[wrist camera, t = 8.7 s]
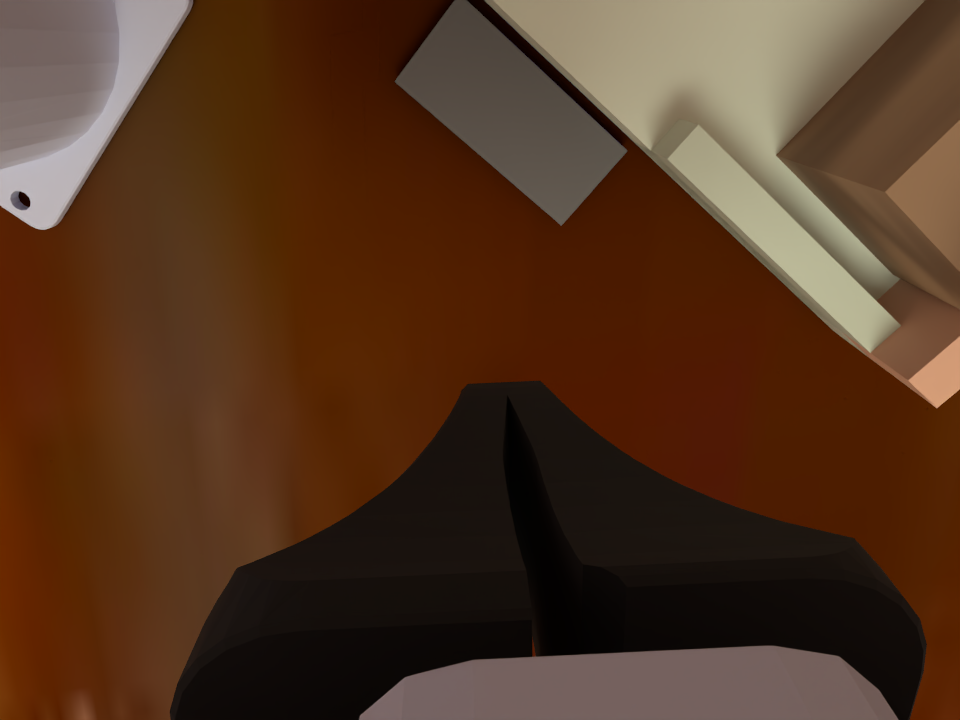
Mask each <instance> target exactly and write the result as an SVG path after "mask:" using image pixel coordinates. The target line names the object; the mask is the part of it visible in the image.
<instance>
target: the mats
mask: <svg viewBox="0 0 960 720" xmlns="http://www.w3.org/2000/svg"><path fill="white" fill-rule="evenodd" d="M395 83H397V84H398V85H399V86H400V87H401V88H402V89H404V90H405V91H406V92H407V93H408V94H409V95H411V96H412V97H413V98H414V99H415V100H416V101H418V102H419V103H420V104H421V105H422V106H423V107H424V108H426V109H427V110H428V111H429V112H430V113H431V114H433V115H434V116H435V117H436V118H437V119H438V120H440V121H441V122H442V123H443V124H444V125H445V126H446V127H448V128H449V129H450V130H451V131H452V132H453V133H455V134H456V135H457V136H458V137H459V138H460V139H462V140H463V141H464V142H465V143H466V144H467V145H469V146H470V147H471V148H472V149H473V150H474V151H475V152H477V153H478V154H479V155H480V156H481V157H482V158H484V159H485V160H486V161H487V162H488V163H489V164H491V165H492V166H493V167H494V168H495V169H496V170H498V171H499V172H500V173H501V174H502V175H503V176H504V177H506V178H507V179H508V180H509V181H510V182H511V183H513V184H514V185H515V186H516V187H517V188H518V189H520V190H521V191H522V192H523V193H524V194H525V195H526V196H528V197H529V198H530V199H531V200H532V201H533V202H535V203H536V204H537V205H538V206H539V207H540V208H542V209H543V210H544V211H545V212H546V213H547V214H549V215H550V216H551V217H552V218H553V219H554V220H555V221H557V222H558V223H559V224H560V225H561V226H562V224H563V223H564V222H565V221H566V220H567V219H568V218H569V216H570V215H571V214H572V213H573V212H574V211H575V210H576V209H577V207H578V206H579V205H580V204H581V203H582V202H583V201H584V200H585V198H586V197H587V196H588V195H589V194H590V193H591V192H592V190H593V189H594V188H595V187H596V186H597V185H598V184H599V183H600V181H601V180H602V179H603V178H604V177H605V176H606V175H607V174H608V172H609V171H610V170H611V169H612V168H613V167H614V166H615V165H616V163H617V162H618V161H619V160H620V159H621V158H622V157H623V155H624V154H625V153H626V152H627V150H626V149H625V148H624V147H623V146H622V145H621V144H620V143H618V142H617V141H616V140H615V139H614V138H613V137H612V136H611V135H610V134H609V133H608V132H607V131H606V130H605V129H604V128H602V127H601V126H600V125H599V124H598V123H597V122H596V121H595V120H594V119H593V118H592V117H591V116H590V115H589V114H588V113H586V112H585V111H584V110H583V109H582V108H581V107H580V106H579V105H578V104H577V103H576V102H575V101H574V100H573V99H572V98H570V97H569V96H568V95H567V94H566V93H565V92H564V91H563V90H562V89H561V88H560V87H559V86H558V85H557V84H556V83H554V82H553V81H552V80H551V79H550V78H549V77H548V76H547V75H546V74H545V73H544V72H543V71H542V70H541V69H540V68H538V67H537V66H536V65H535V64H534V63H533V62H532V61H531V60H530V59H529V58H528V57H527V56H526V55H525V54H524V53H522V52H521V51H520V50H519V49H518V48H517V47H516V46H515V45H514V44H513V43H512V42H511V41H510V40H509V39H508V38H506V37H505V36H504V35H503V34H502V33H501V32H500V31H499V30H498V29H497V28H496V27H495V26H494V25H493V24H492V23H490V22H489V21H488V20H487V19H486V18H485V17H484V16H483V15H482V14H481V13H480V12H479V11H478V10H477V9H475V8H474V7H473V6H472V5H471V4H470V3H469V2H468V1H467V0H454V2H453V3H452V4H451V6H450V7H449V8H448V10H447V11H446V13H445V14H444V15H443V17H442V18H441V19H440V21H439V22H438V23H437V25H436V26H435V27H434V29H433V30H432V31H431V33H430V34H429V36H428V37H427V38H426V40H425V41H424V42H423V44H422V45H421V46H420V48H419V49H418V50H417V52H416V53H415V54H414V56H413V57H412V59H411V60H410V61H409V63H408V64H407V65H406V67H405V68H404V69H403V71H402V72H401V73H400V75H399V76H398V77H397V79H396V80H395Z"/></svg>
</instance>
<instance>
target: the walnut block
mask: <svg viewBox="0 0 960 720" xmlns="http://www.w3.org/2000/svg"><path fill="white" fill-rule="evenodd" d="M776 156H777V157H778V158H779V159H780V160H781V161H782V162H783V163H784V164H785V165H786V166H787V167H788V168H789V169H790V170H791V171H792V172H793V173H794V174H795V175H796V176H797V177H798V178H799V179H800V180H801V181H802V183H803V184H804V185H805V186H806V187H807V188H808V189H809V190H810V191H811V192H812V193H813V194H814V195H815V196H816V197H817V198H818V199H819V200H820V201H821V202H822V203H823V204H824V205H825V206H826V207H827V208H828V209H829V210H830V211H831V212H832V213H833V214H834V215H835V216H836V217H837V218H838V219H839V220H840V221H841V222H842V223H843V224H844V225H845V226H846V227H847V228H848V229H849V230H850V231H851V232H852V233H853V234H854V235H855V236H856V237H857V238H858V240H859V241H860V242H861V243H862V244H863V245H864V246H865V247H866V248H867V249H868V250H869V251H870V252H871V253H872V254H873V255H874V256H875V257H876V258H877V259H878V260H879V261H880V262H881V263H882V264H883V265H884V266H885V267H886V268H887V269H888V270H889V271H890V272H891V273H892V274H893V275H894V276H896V277H898V278H900V279H902V280H904V281H906V282H908V283H910V284H911V285H913V286H915V287H917V288H919V289H921V290H923V291H925V292H927V293H929V294H931V295H933V296H935V297H937V298H938V299H940V300H942V301H944V302H946V303H948V304H950V305H952V306H954V307H956V308H958V309H960V0H925V1H924V2H923V3H922V4H921V5H920V6H919V7H918V8H917V9H916V10H915V11H914V12H913V13H912V15H911V16H910V17H909V18H908V19H907V20H906V21H905V22H904V23H903V24H902V25H901V26H900V27H899V28H898V29H897V30H896V31H895V32H894V33H893V34H892V35H891V36H890V37H889V38H888V39H887V41H886V42H885V43H884V44H883V45H882V46H881V47H880V48H879V49H878V50H877V51H876V52H875V53H874V54H873V55H872V56H871V57H870V58H869V59H868V60H867V61H866V62H865V63H864V64H863V65H862V67H861V68H860V69H859V70H858V71H857V72H856V73H855V74H854V75H853V76H852V77H851V78H850V79H849V80H848V81H847V82H846V83H845V84H844V85H843V86H842V87H841V88H840V89H839V90H838V91H837V92H836V94H835V95H834V96H833V97H832V98H831V99H830V100H829V101H828V102H827V103H826V104H825V105H824V106H823V107H822V108H821V109H820V110H819V111H818V112H817V113H816V114H815V115H814V116H813V117H812V118H811V120H810V121H809V122H808V123H807V124H806V125H805V126H804V127H803V128H802V129H801V130H800V131H799V132H798V133H797V134H796V135H795V136H794V137H793V138H792V139H791V140H790V141H789V142H788V143H787V144H786V146H785V147H784V148H783V149H782V150H781V151H780V152H779V153H778V154H777V155H776Z"/></svg>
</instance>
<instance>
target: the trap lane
mask: <svg viewBox="0 0 960 720" xmlns="http://www.w3.org/2000/svg"><path fill="white" fill-rule="evenodd" d="M484 1H485V2H486V3H487V4H488V5H489V6H490V7H492V8H493V9H494V10H495V11H496V12H497V13H498V14H499V15H500V16H501V17H502V18H503V19H504V20H505V21H506V22H507V23H508V24H509V25H511V26H512V27H513V28H514V29H515V30H516V31H517V32H518V33H519V34H520V35H521V36H522V37H523V38H524V39H525V40H526V41H527V42H529V43H530V44H531V45H532V46H533V47H534V48H535V49H536V50H537V51H538V52H539V53H540V54H541V55H542V56H543V57H544V58H545V59H547V60H548V61H549V62H550V63H551V64H552V65H553V66H554V67H555V68H556V69H557V70H558V71H559V72H560V73H561V74H562V75H563V76H564V77H566V78H567V79H568V80H569V81H570V82H571V83H572V84H573V85H574V86H575V87H576V88H577V89H578V90H579V91H580V92H581V93H582V94H584V95H585V96H586V97H587V98H588V99H589V100H590V101H591V102H592V103H593V104H594V105H595V106H596V107H597V108H598V109H599V110H600V111H602V112H603V113H604V114H605V115H606V116H607V117H608V118H609V119H610V120H611V121H612V122H613V123H614V124H615V125H616V126H617V127H618V128H619V129H621V130H622V131H623V132H624V133H625V134H626V135H627V136H628V137H629V138H630V139H631V140H632V141H633V142H634V143H635V144H636V145H637V146H639V147H640V148H641V149H642V150H643V151H644V152H645V153H646V154H647V155H648V156H649V157H650V158H651V159H652V160H653V161H654V162H655V163H657V164H658V165H659V166H660V167H661V168H662V169H663V170H664V171H665V172H666V173H667V174H668V175H669V176H670V177H671V178H672V179H673V180H674V181H676V182H677V183H678V184H679V185H680V186H681V187H682V188H683V189H684V190H685V191H686V192H687V193H688V194H689V195H690V196H691V197H692V198H694V199H695V200H696V201H697V202H698V203H699V204H700V205H701V206H702V207H703V208H704V209H705V210H706V211H707V212H708V213H709V214H710V215H712V216H713V217H714V218H715V219H716V220H717V221H718V222H719V223H720V224H721V225H722V226H723V227H724V228H725V229H726V230H727V231H728V232H729V233H731V234H732V235H733V236H734V237H735V238H736V239H737V240H738V241H739V242H740V243H741V244H742V245H743V246H744V247H745V248H746V249H747V250H749V251H750V252H751V253H752V254H753V255H754V256H755V257H756V258H757V259H758V260H759V261H760V262H761V263H762V264H763V265H764V266H765V267H767V268H768V269H769V270H770V271H771V272H772V273H773V274H774V275H775V276H776V277H777V278H778V279H779V280H780V281H781V282H782V283H783V284H784V285H786V286H787V287H788V288H789V289H790V290H791V291H792V292H793V293H794V294H795V295H796V296H797V297H798V298H799V299H800V300H801V301H802V302H804V303H805V304H806V305H807V306H808V307H809V308H810V309H811V310H812V311H813V312H814V313H815V314H816V315H817V316H818V317H819V318H820V319H822V320H823V321H824V322H825V323H826V324H827V325H828V326H829V327H830V328H831V329H832V330H833V331H834V332H836V333H837V334H838V335H840V336H841V337H842V338H844V339H845V340H846V341H848V342H849V343H850V344H852V345H853V346H854V347H856V348H857V349H858V350H860V351H861V352H862V353H864V354H865V355H866V356H868V357H869V358H870V359H872V360H873V361H874V362H876V363H877V364H878V365H880V366H881V367H882V368H884V369H885V370H886V371H888V372H889V373H890V374H892V375H893V376H894V377H896V378H897V379H898V380H900V381H901V382H902V383H904V384H905V385H907V386H908V387H909V388H911V389H912V390H913V391H915V392H916V393H917V394H919V395H920V396H921V397H923V398H924V399H925V400H927V401H928V402H929V403H931V404H932V405H933V406H935V407H936V408H938V407H939V406H940V405H941V404H942V403H944V402H945V401H946V400H947V399H948V398H950V397H951V396H952V395H953V394H954V393H956V392H957V391H958V390H959V389H960V309H958V308H956V307H954V306H952V305H950V304H948V303H946V302H944V301H942V300H940V299H938V298H937V297H935V296H933V295H931V294H929V293H927V292H925V291H923V290H921V289H919V288H917V287H915V286H913V285H911V284H910V283H908V282H906V281H904V280H902V279H900V278H898V277H896V276H894V275H893V274H892V273H891V272H890V271H889V270H888V269H887V268H886V267H885V266H884V265H883V264H882V263H881V262H880V261H879V260H878V259H877V258H876V257H875V256H874V255H873V254H872V253H871V252H870V251H869V250H868V249H867V248H866V247H865V246H864V245H863V244H862V243H861V242H860V241H859V240H858V238H857V237H856V236H855V235H854V234H853V233H852V232H851V231H850V230H849V229H848V228H847V227H846V226H845V225H844V224H843V223H842V222H841V221H840V220H839V219H838V218H837V217H836V216H835V215H834V214H833V213H832V212H831V211H830V210H829V209H828V208H827V207H826V206H825V205H824V204H823V203H822V202H821V201H820V200H819V199H818V198H817V197H816V196H815V195H814V194H813V193H812V192H811V191H810V190H809V189H808V188H807V187H806V186H805V185H804V184H803V183H802V181H801V180H800V179H799V178H798V177H797V176H796V175H795V174H794V173H793V172H792V171H791V170H790V169H789V168H788V167H787V166H786V165H785V164H784V163H783V162H782V161H781V160H780V159H779V158H778V157H777V156H776V155H777V154H778V153H779V152H780V151H781V150H782V149H783V148H784V147H785V146H786V144H787V143H788V142H789V141H790V140H791V139H792V138H793V137H794V136H795V135H796V134H797V133H798V132H799V131H800V130H801V129H802V128H803V127H804V126H805V125H806V124H807V123H808V122H809V121H810V120H811V118H812V117H813V116H814V115H815V114H816V113H817V112H818V111H819V110H820V109H821V108H822V107H823V106H824V105H825V104H826V103H827V102H828V101H829V100H830V99H831V98H832V97H833V96H834V95H835V94H836V92H837V91H838V90H839V89H840V88H841V87H842V86H843V85H844V84H845V83H846V82H847V81H848V80H849V79H850V78H851V77H852V76H853V75H854V74H855V73H856V72H857V71H858V70H859V69H860V68H861V67H862V65H863V64H864V63H865V62H866V61H867V60H868V59H869V58H870V57H871V56H872V55H873V54H874V53H875V52H876V51H877V50H878V49H879V48H880V47H881V46H882V45H883V44H884V43H885V42H886V41H887V39H888V38H889V37H890V36H891V35H892V34H893V33H894V32H895V31H896V30H897V29H898V28H899V27H900V26H901V25H902V24H903V23H904V22H905V21H906V20H907V19H908V18H909V17H910V16H911V15H912V13H913V12H914V11H915V10H916V9H917V8H918V7H919V6H920V5H921V4H922V3H923V2H924V1H925V0H484Z"/></svg>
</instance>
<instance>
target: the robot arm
mask: <svg viewBox="0 0 960 720" xmlns="http://www.w3.org/2000/svg"><path fill="white" fill-rule="evenodd" d="M192 5H193V0H0V206H2V207H3V208H5V209H6V210H8V211H9V212H10V213H12V214H13V215H15V216H16V217H18V218H19V219H21V220H22V221H24V222H25V223H27V224H28V225H30V226H32V227H34V228H36V229H42V230H45V229H48V228H51V227H54V226H56V225H57V224H58V223H59V222H60V221H61V220H62V218H63V217H64V215H65V213H66V212H67V210H68V209H69V207H70V205H71V204H72V202H73V200H74V199H75V197H76V196H77V194H78V192H79V191H80V189H81V187H82V186H83V184H84V183H85V181H86V179H87V178H88V176H89V174H90V173H91V171H92V170H93V168H94V166H95V165H96V163H97V161H98V160H99V158H100V157H101V155H102V153H103V152H104V150H105V148H106V147H107V145H108V144H109V142H110V140H111V139H112V137H113V135H114V134H115V132H116V131H117V129H118V127H119V126H120V124H121V123H122V121H123V119H124V118H125V116H126V114H127V113H128V111H129V110H130V108H131V106H132V105H133V103H134V101H135V100H136V98H137V97H138V95H139V93H140V92H141V90H142V88H143V87H144V85H145V84H146V82H147V80H148V79H149V77H150V75H151V74H152V72H153V71H154V69H155V67H156V66H157V64H158V62H159V61H160V59H161V58H162V56H163V54H164V53H165V51H166V49H167V48H168V46H169V45H170V43H171V41H172V40H173V38H174V36H175V35H176V33H177V32H178V30H179V28H180V27H181V25H182V23H183V22H184V20H185V19H186V17H187V15H188V14H189V12H190V10H191V8H192ZM20 191H21V192H23V193H25V194H26V195H27V196H28V197H29V199H30V202H31V204H30V207H27V206H24V205H23V204H22V203H21V202H20V200H19V197H18V195H19V192H20ZM532 637H533V642H534V647H535V653H536V657H532ZM926 645H927V644H926V640H925V637H924V633H923V629H922V625H921V621H920V618H919V617H918V616H917V614H916V613H915V612H914V610H913V609H912V608H911V606H910V605H909V604H908V602H907V601H906V600H905V598H904V597H903V596H902V595H901V593H900V592H899V591H898V589H897V588H896V587H895V586H894V584H893V583H892V582H891V580H890V579H889V578H888V577H887V575H886V574H885V573H884V571H883V570H882V569H881V568H880V567H879V565H878V564H877V563H876V562H875V561H874V560H873V559H872V558H871V556H870V555H869V554H868V553H867V552H866V551H865V550H864V548H863V547H862V546H861V545H860V544H859V543H858V542H857V541H856V540H855V539H854V538H850V537H846V536H842V535H837V534H833V533H829V532H825V531H820V530H816V529H812V528H807V527H803V526H799V525H795V524H790V523H786V522H782V521H779V520H775V519H772V518H769V517H766V516H762V515H759V514H756V513H753V512H750V511H747V510H744V509H740V508H737V507H735V506H732V505H729V504H727V503H724V502H721V501H719V500H716V499H713V498H711V497H709V496H706V495H704V494H702V493H699V492H697V491H695V490H692V489H690V488H688V487H686V486H683V485H681V484H679V483H677V482H675V481H673V480H671V479H669V478H667V477H665V476H663V475H661V474H659V473H658V472H656V471H654V470H652V469H651V468H649V467H647V466H645V465H644V464H642V463H640V462H638V461H636V460H635V459H633V458H632V457H630V456H629V455H627V454H625V453H624V452H622V451H621V450H620V449H618V448H617V447H615V446H614V445H613V444H611V443H610V442H609V441H607V440H606V439H604V438H603V437H602V436H600V435H599V434H598V433H596V432H595V431H594V430H593V429H591V428H590V427H589V426H588V425H587V424H585V423H584V422H583V421H582V420H581V419H580V418H578V417H577V416H576V415H575V414H574V413H573V412H572V411H571V410H570V409H569V408H568V407H567V406H565V405H564V404H563V403H562V402H561V401H560V400H559V399H558V398H557V397H556V396H555V395H554V394H553V393H552V392H551V391H550V390H549V389H548V388H547V387H546V386H545V385H544V384H543V383H542V382H541V381H525V382H503V383H480V384H468V385H467V386H466V387H465V388H464V389H463V390H462V391H461V394H460V396H459V399H458V401H457V403H456V404H455V406H454V408H453V410H452V411H451V413H450V415H449V416H448V418H447V419H446V421H445V422H444V424H443V425H442V427H441V428H440V430H439V431H438V433H437V434H436V436H435V437H434V438H433V440H432V441H431V442H430V443H429V444H428V446H427V447H426V448H425V449H424V450H423V452H422V453H421V454H420V455H419V456H418V458H417V459H416V460H415V461H414V462H413V463H412V465H411V466H410V467H409V468H408V469H407V470H406V471H405V472H404V473H403V474H402V475H401V476H400V477H399V478H398V479H397V480H396V481H394V482H393V483H392V484H391V485H390V486H389V487H388V488H386V489H385V490H384V491H382V492H381V493H380V494H378V495H377V496H376V497H374V498H373V499H371V500H370V501H369V502H367V503H366V504H364V505H363V506H362V507H360V508H359V509H357V510H356V511H355V512H353V513H352V514H350V515H349V516H347V517H345V518H344V519H342V520H340V521H339V522H337V523H335V524H333V525H332V526H330V527H328V528H326V529H325V530H323V531H321V532H319V533H317V534H315V535H313V536H311V537H309V538H307V539H305V540H303V541H301V542H299V543H297V544H295V545H293V546H290V547H288V548H285V549H283V550H281V551H278V552H276V553H273V554H271V555H269V556H266V557H264V558H261V559H259V560H257V561H254V562H252V563H249V564H246V565H244V566H241V567H238V568H237V569H236V570H235V572H234V574H233V576H232V577H231V579H230V581H229V583H228V584H227V586H226V588H225V589H224V591H223V592H222V594H221V595H220V597H219V598H218V600H217V602H216V603H215V605H214V607H213V609H212V611H211V612H210V614H209V616H208V618H207V620H206V622H205V623H204V626H203V628H202V630H201V632H200V634H199V637H198V639H197V641H196V643H195V646H194V648H193V650H192V652H191V655H190V657H189V659H188V661H187V664H186V666H185V668H184V670H183V673H182V675H181V677H180V679H179V682H178V684H177V687H176V691H175V695H174V698H173V702H172V705H171V709H170V717H171V720H909V719H910V716H911V713H912V709H913V706H914V702H915V699H916V695H917V692H918V689H919V685H920V682H921V678H922V675H923V671H924V663H925V654H926Z"/></svg>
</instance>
